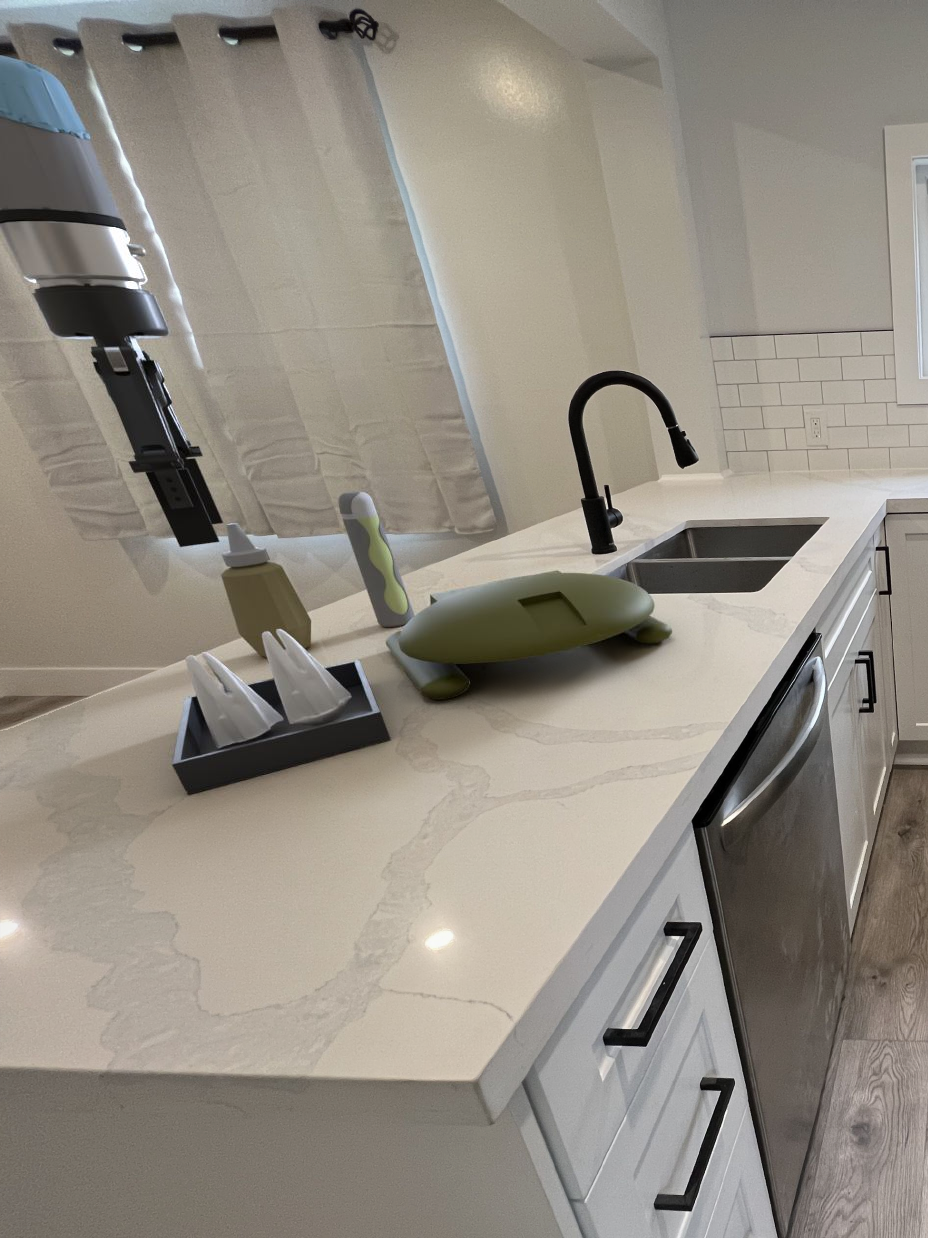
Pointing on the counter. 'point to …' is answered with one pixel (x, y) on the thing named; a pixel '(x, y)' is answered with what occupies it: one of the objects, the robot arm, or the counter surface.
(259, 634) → the squeeze bottle
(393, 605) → the grey and green bar
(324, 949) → the counter surface
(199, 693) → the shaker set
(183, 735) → the dark grey tray
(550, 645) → the spaceship
